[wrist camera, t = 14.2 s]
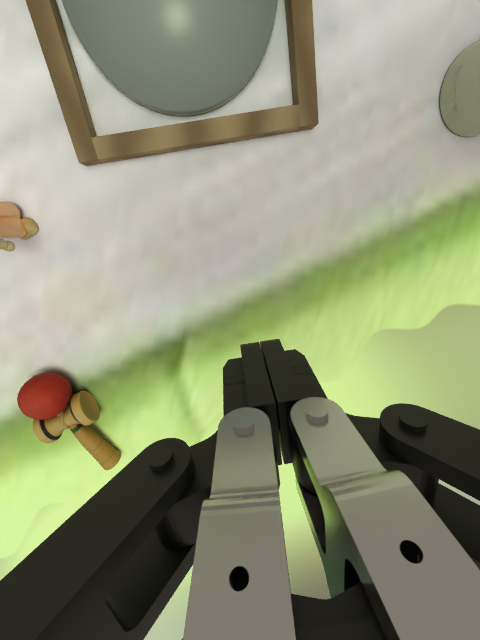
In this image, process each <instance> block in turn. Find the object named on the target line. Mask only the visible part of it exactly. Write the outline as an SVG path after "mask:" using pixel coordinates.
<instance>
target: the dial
mask: <svg viewBox="0 0 480 640" xmlns="http://www.w3.org/2000/svg"><path fill="white" fill-rule="evenodd" d="M62 2H63V5H64V8H65V10H66V13H67V15H68V18H69V20H70V23H71V25H72V27H73V29H74V30H75V32H76V34H77V36H78V38H79V40H80V42H81V43H82V45H83V46H84V48H85V49H86V51H87V52H88V54H89V56H90V57H91V58H92V60H93V61H94V62H95V64H96V65H97V66H98V68H99V69H100V70H101V71H102V73H103V74H104V75H105V76H106V77H107V78H108V79H109V80H110V81H111V82H112V84H113V85H114V86H115V87H116V88H118V89H119V90H120V91H121V92H123V93H124V94H125V95H126V96H128V97H129V98H130V99H132V100H134V101H135V102H137V103H138V104H140V105H142V106H144V107H146V108H149V109H151V110H153V111H156V112H160V113H163V114H167V115H174V116H193V115H199V114H203V113H206V112H209V111H212V110H215V109H216V108H218V107H220V106H222V105H224V104H226V103H227V102H228V101H230V100H231V99H232V98H234V97H235V96H236V95H237V94H238V93H239V92H240V91H241V90H242V89H243V88H244V87H245V85H246V84H247V83H248V82H249V80H250V79H251V78H252V76H253V74H254V73H255V71H256V69H257V68H258V66H259V64H260V62H261V59H262V57H263V55H264V53H265V50H266V47H267V44H268V41H269V38H270V35H271V32H272V29H273V24H274V19H275V14H276V8H277V0H62Z"/></svg>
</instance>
